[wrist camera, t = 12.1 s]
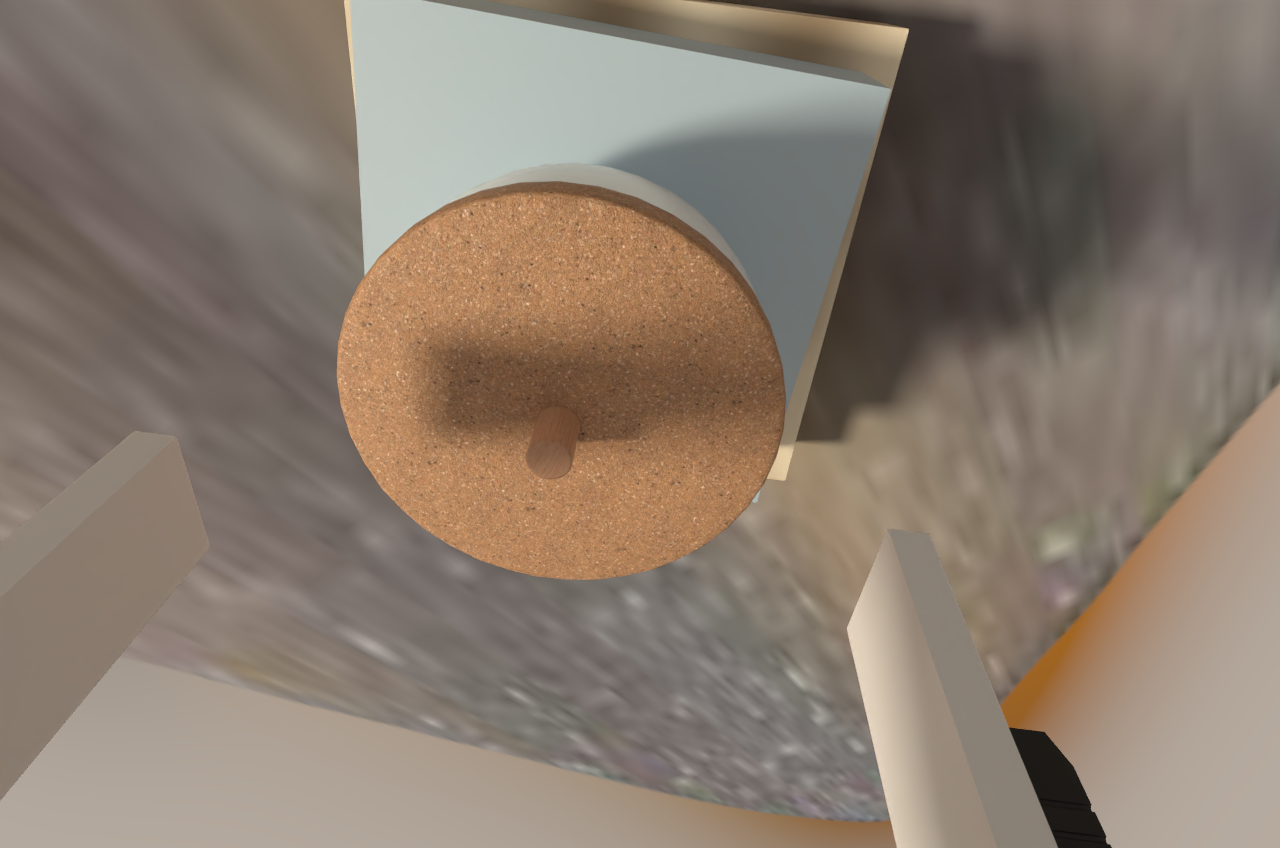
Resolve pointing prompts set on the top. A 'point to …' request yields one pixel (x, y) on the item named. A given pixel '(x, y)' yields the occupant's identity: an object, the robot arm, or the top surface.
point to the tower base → (683, 11)
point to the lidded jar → (564, 374)
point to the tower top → (615, 131)
